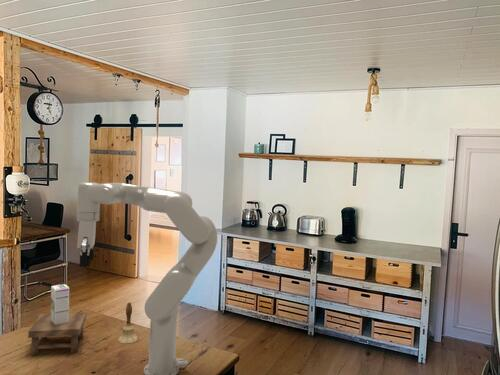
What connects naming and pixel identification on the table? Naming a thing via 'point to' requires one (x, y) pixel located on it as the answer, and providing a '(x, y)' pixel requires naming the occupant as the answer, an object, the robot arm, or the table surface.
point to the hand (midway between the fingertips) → (86, 263)
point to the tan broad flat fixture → (56, 332)
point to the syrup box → (59, 304)
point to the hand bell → (128, 329)
